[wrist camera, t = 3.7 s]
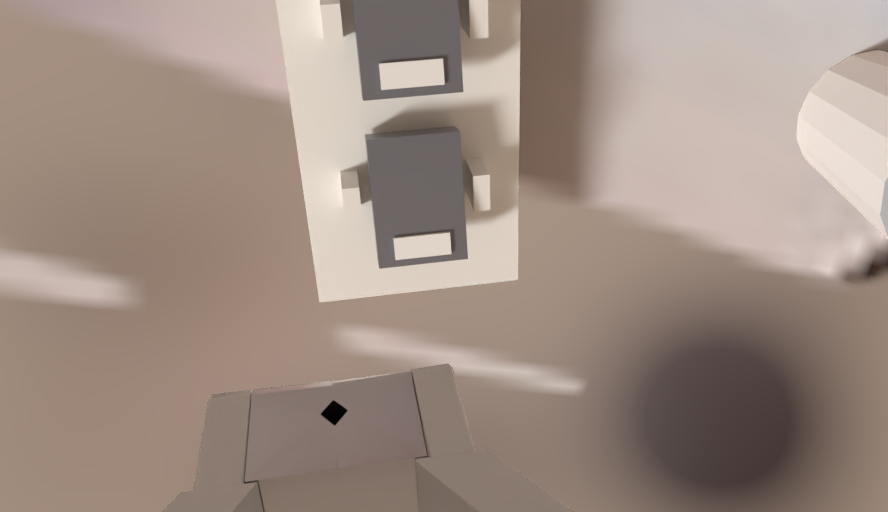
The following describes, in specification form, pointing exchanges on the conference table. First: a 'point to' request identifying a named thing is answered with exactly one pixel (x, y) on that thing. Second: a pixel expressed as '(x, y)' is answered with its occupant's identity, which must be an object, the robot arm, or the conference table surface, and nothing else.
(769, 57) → the conference table surface
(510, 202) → the rocker switch panel
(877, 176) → the shot glass
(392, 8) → the plate
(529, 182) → the conference table surface
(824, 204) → the conference table surface
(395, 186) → the block
